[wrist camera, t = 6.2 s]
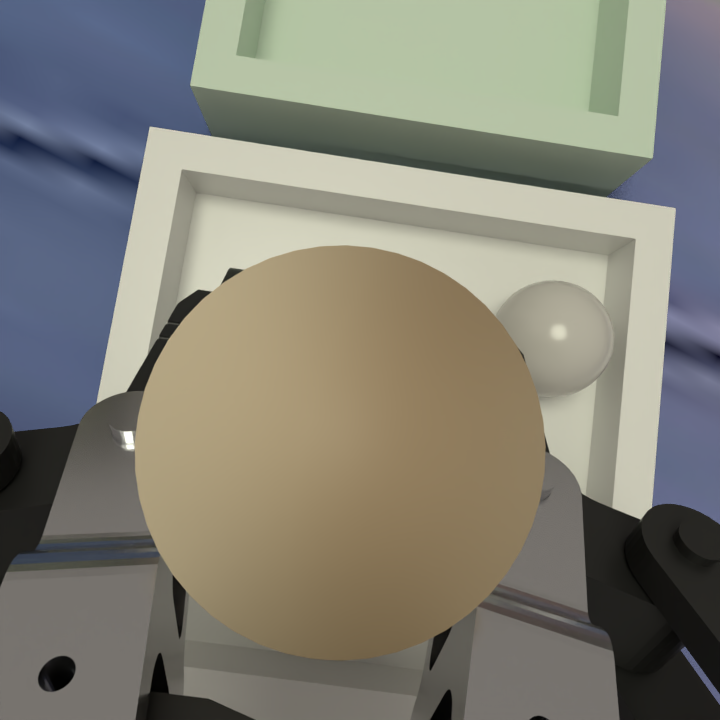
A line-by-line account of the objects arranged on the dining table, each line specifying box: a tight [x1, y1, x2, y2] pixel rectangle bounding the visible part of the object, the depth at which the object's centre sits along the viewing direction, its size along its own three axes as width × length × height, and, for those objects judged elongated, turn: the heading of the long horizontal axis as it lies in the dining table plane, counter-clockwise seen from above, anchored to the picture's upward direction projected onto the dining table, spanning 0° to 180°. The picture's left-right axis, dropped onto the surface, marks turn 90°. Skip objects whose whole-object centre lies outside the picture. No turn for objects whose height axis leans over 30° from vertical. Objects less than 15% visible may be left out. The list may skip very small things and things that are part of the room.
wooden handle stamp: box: [135, 245, 546, 661], centre depth 10 cm, size 6×6×10 cm
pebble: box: [495, 280, 614, 398], centre depth 14 cm, size 3×3×3 cm
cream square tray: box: [97, 127, 676, 720], centre depth 15 cm, size 14×14×2 cm
